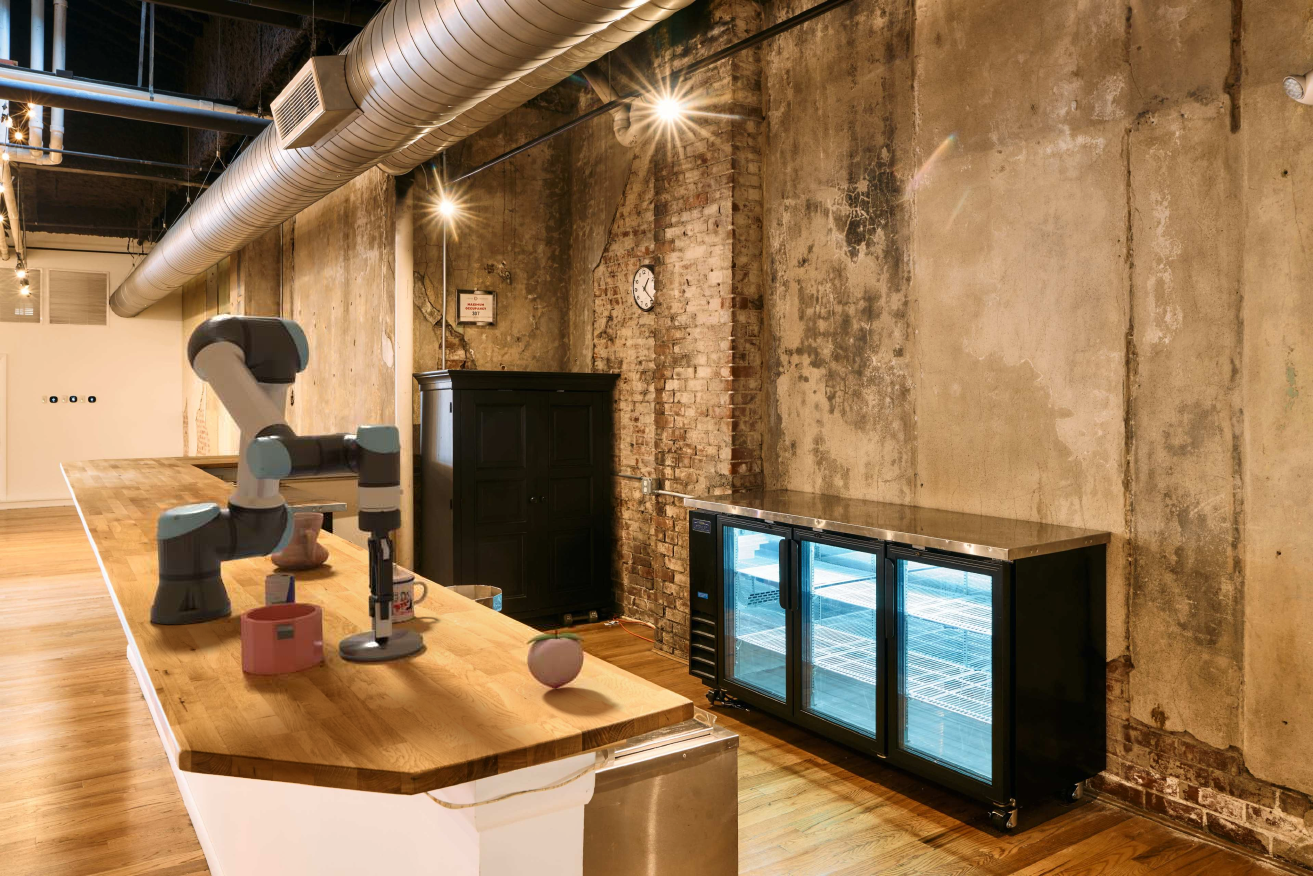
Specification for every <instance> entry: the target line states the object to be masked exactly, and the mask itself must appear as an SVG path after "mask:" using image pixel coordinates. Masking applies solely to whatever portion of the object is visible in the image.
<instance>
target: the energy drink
mask: <svg viewBox="0 0 1313 876" xmlns="http://www.w3.org/2000/svg"><path fill="white" fill-rule="evenodd" d="M264 591H265V592H264V595H265V596H264V597H265V598H264V599H265V606H267V605H271V602H278V601H286V603H296V578H295V576H294V573H292V572H277V573H271V574H267V575H266V577H265V580H264Z"/></svg>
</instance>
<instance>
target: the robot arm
mask: <svg viewBox="0 0 1313 876" xmlns="http://www.w3.org/2000/svg"><path fill="white" fill-rule="evenodd" d="M186 350H187V351H186V352H187V353H186V354H187V359H188V363H189V365H190V367H191V369H192V370H193V372H194V374H195V375H196V376H197V377H198V379H200V380H201V381H204V382H205V383H208V384H209V386H210V387H211V389H212V390H213V392H214V393H215V394H216V396H217V399H219V400H220V402H221V403H222V405H223V407H224V408H225V409H226V411H227V412H228V414H229V416H230V417H231V418H232V420H233V421H234V423H235V424H236V426H237V428H238V429H239V431H240V433H239V447H238V461H237V463H238V464H237V472H236V473H237V476H236V486H235V488H236V489H235V490H234V491H233V492H232V493H231V494H229V495H228V497H227V507H224V508H220V506H219V504H218V503H214V502H203V503H202V502H201V503H193V504H188V505H182V506H178V507H175V508H171V509H168V510H166V511H164V512H163V513H161V514H160V516H159V517H158V520H157V531H156V535H155V536H156V539H157V557H158V560H157V561H158V585H157V588H156V591H155V595H154V599H153V604H152V605H151V607H150V610H149V611H150V613H149V614H150V621H151V622H152V623H155V624H161V625H163V624H164V625H185V624H187V625H188V624H194V623H202V622H206V621H211V620H217V619H219V618H222V617H224V616H227V615H229V614H230V613H231V612H232V603H231V598H230V597H229V596H228V592H227V589H226V587H225V583H224V582H223V578H222V572H221V571H222V568H221V567H222V566H221V565H222V564H221V563H224V562H230V561H237V560H245V559H252V558H258V557H260V558H264V557H267V556H269V555H270V556H271V555H272V554H275V553H279V552H281V551H283V549H285V548H286V547H287V546H288V544H289V543H290V541H291V538H292V535H293V531H294V519H293V518H292V517H293V514H294V512H293V510H292V508H291V506H290V505H289V504H288V503H286V499H285V497H284V496H283V495H282V494H281V493H280V492H279V489H280V480H283V479H284V480H285V479H293V478H304V477H305V478H306V477H313V476H314V477H316V476H329V475H330V476H331V475H340V474H341V475H342V474H355V475H357V491H356V492H357V507H358V508H359V509H360V510H359V511H358V512H357V516H358V517H357V520H358V522H357V523H358V524H357V525H358V529H359V531H360V532H364V533H370V537H368V538H367V547H368V580H369V581H368V583H369V584H368V588H369V590H370V595H373V594H377V598H376V600H373V603H375V609H376V638H379V637H386V636H392V630H393V627H392V626H393V625H392V624H393V623H392V613H391V600H393V598H394V595H393V563H394V541H393V539H391V537H390V532H392V531H397V530H399V529H401V527H402V511H401V509H400V508H398V507H399V506H401V495H403V494H404V489H402V488H401V448H402V446H401V444H400V443H401V442H400V430H399V428H398V427H397V426H396V425H393V424H364V425H360V426H359V427H358V428H357V429H356V430H357V431H356V433H355V434H353V433H350V432H335V433H330V434H319V435H318V434H316V435H297V434H296V432H295V431H294V430H293V429H292V427H291V426H290V425H289V422H287V420H286V405H287V395H288V389H289V388H290V387H291V386H293V385H294V384H296V378H297V374H299V373H302V372H304V371H305V370H306V369H307V366H308V365H309V359H310V346H309V342H308V339H307V335H306V334H305V332H304V329H303V328H302V326H300V324H298V323H297V322H296V321H294V320H293V319H289V318H281V317H276V316H275V317H274V316H256V315H255V316H253V315H234V314H219V315H215V316H212V317H210V318H207V319H206V320H204V321H202V322H201V323H200V324H199V325H197V326H196V327H195V329H194V330H193V332H192V333H191V335H190V337H189V339H188V341H187V347H186ZM371 631H375V618H373V617H371Z"/></svg>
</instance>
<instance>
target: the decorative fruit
mask: <svg viewBox="0 0 1313 876" xmlns="http://www.w3.org/2000/svg"><path fill="white" fill-rule="evenodd" d="M554 631H555V633H554V635H553V634H549V633H542V634H538V635H535V636H533V638H531V639H530V640H528V642H527V643H526V645H529V644H531V643H532V644H531V645H530V647H529V649H528V653H527V659H526V660H527V667H528V670H529V672H530V674H531V675H532V677H533V678H534V679H535V680H536V681H538V683H540V684H542V685H543V686H546V687H548V688H551V689H554V688H558V689H559V688H560V687H564V686H566V685H567V684H570V683H571V682H573V681H574V680H575V679H576V678H577V677H578V676H579V674H580V672H581V670H582V667H583V665H584V655H585V654H584V650H583V647H582V644H581V643H580V642H579V641H581V642H583V643H586V641H585V640H584V638H582V637H581V636H580V635H578V634H575V633H572V632H563V633H560V634H558V628H557V627H556V628H555V630H554Z"/></svg>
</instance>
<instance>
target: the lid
mask: <svg viewBox="0 0 1313 876" xmlns="http://www.w3.org/2000/svg"><path fill="white" fill-rule="evenodd" d="M376 598H377V594H373V595H371V594H370V595H369V596H368V616H369V618H372V617H373V618H375V630H373V631H372V630H371V631H366V632H360V633H357V634H356V633H355V634H353V635H350V636H348V637H346V638H344V639H342V640H341V641H340V642H339V644H338V655H339V657H341V658H343V659H345V660H348V661H352V662H362V663H363V662H365V663H373V662H375V663H377V662H378V661H379V662H388V661H387V660H389V661H394V660H393V659H395V660H400V659H403V657H404V658H407V657H406V656H408V657H410V656H409V655H411V656H413V655H416V654H417V653H419V652H420V651H422V650H423V648H424V636H423V635H422V634H421V633H420V632H416V631H413V630H408V629H392V636H386V637H379V638H376V609H375V603H373V600H376ZM391 613H392V615H393V614H394V601H393V600H391ZM421 649H422V650H421ZM412 654H413V655H412ZM399 658H400V659H399Z"/></svg>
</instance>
